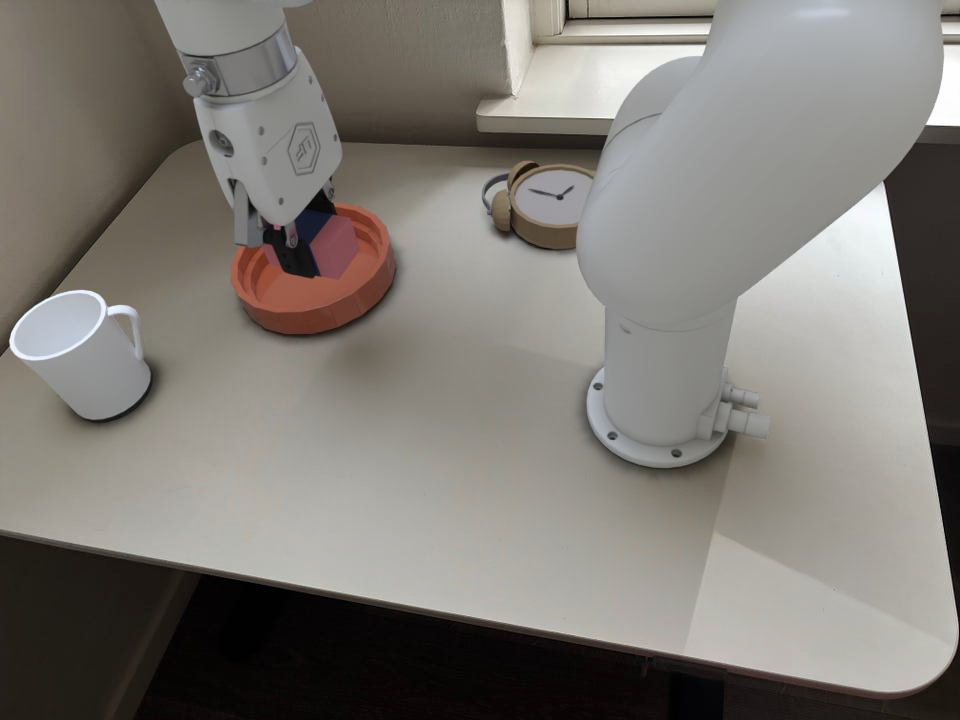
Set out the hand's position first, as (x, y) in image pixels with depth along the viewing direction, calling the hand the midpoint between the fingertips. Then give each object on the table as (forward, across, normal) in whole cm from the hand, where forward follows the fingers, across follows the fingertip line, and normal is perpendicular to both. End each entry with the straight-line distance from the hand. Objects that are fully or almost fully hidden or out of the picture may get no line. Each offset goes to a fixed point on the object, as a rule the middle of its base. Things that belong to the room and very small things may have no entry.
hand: (314, 253), depth 63 cm
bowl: (+14, +9, +9) cm, 19 cm away
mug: (+14, -11, +22) cm, 28 cm away
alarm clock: (+14, +25, -12) cm, 31 cm away
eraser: (+1, 0, 0) cm, 1 cm away
